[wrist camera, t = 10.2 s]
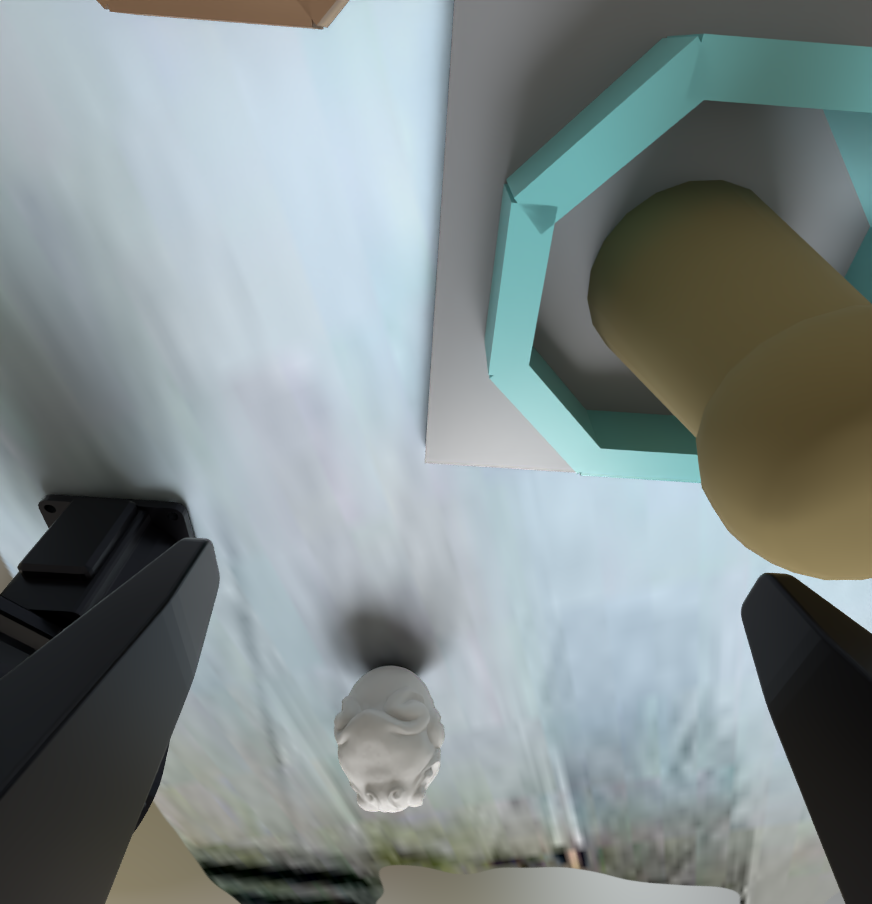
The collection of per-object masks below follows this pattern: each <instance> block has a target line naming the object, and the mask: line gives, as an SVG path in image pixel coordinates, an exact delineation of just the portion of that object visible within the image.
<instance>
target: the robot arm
mask: <svg viewBox="0 0 872 904" xmlns="http://www.w3.org/2000/svg"><path fill="white" fill-rule="evenodd" d="M38 506H39V509H40V511H41V513H42V516H43V518H44V520H45V522H46V524H47V526H48V528H49V529H48V530H47V531H46V533H45V534H44V535H43V536H42V537H41V538H40V540H39V541H38V542H37V543H36V544H35V546H34V547H33V548H32V549H31V550H30V551H29V553H28V554H27V555H26V556H25V557H24V559H23V560H22V561H21V562H20V563H19V565H18V567H17V568H18V570H19V572H18V573H17V575H16V576H15V577H14V578H13V579H12V581H11V582H10V583H9V584H8V585H7V587H6V588H5V589H4V590H3V592H2V593H1V594H0V904H105V902H106V900H107V897H108V895H109V892H110V890H111V887H112V885H113V882H114V879H115V877H116V875H117V872H118V869H119V867H120V864H121V862H122V859H123V857H124V854H125V852H126V849H127V846H128V844H129V842H130V839H131V837H132V834H133V833H134V831H135V830H136V829H137V827H138V826H139V824H140V823H141V821H142V819H143V818H144V816H145V814H146V813H147V811H148V809H149V807H150V805H151V803H152V801H153V799H154V797H155V795H156V792H157V790H158V787H159V785H160V781H161V778H162V774H163V770H164V766H165V761H166V756H167V752H168V747H169V742H170V738H171V735H172V733H173V730H174V728H175V725H176V723H177V720H178V718H179V715H180V713H181V710H182V708H183V705H184V702H185V700H186V697H187V695H188V692H189V690H190V687H191V684H192V681H193V679H194V676H195V672H196V669H197V665H198V662H199V658H200V654H201V651H202V647H203V643H204V640H205V636H206V632H207V629H208V625H209V621H210V617H211V614H212V610H213V606H214V603H215V599H216V595H217V592H218V587H219V580H220V577H219V570H218V565H217V561H216V556H215V551H214V547H213V544H212V542H211V541H210V540H209V539H204V538H195V537H194V534H193V530H192V527H191V523H190V519H189V516H188V512H187V510H186V508H185V507H184V506H183V505H181V504H179V503H175V502H163V501H146V500H130V499H114V498H98V497H81V496H65V495H47V496H45V497H44V498H43V499H42V500H41V501H40V502H39V504H38ZM172 512H173V513H172ZM174 513H176V514H174ZM741 617H742V621H743V625H744V628H745V632H746V635H747V639H748V642H749V646H750V649H751V653H752V656H753V660H754V663H755V667H756V671H757V674H758V678H759V681H760V685H761V688H762V692H763V695H764V698H765V701H766V704H767V707H768V710H769V712H770V715H771V718H772V721H773V723H774V726H775V728H776V731H777V733H778V736H779V738H780V741H781V743H782V746H783V748H784V751H785V753H786V756H787V758H788V761H789V763H790V766H791V768H792V771H793V773H794V776H795V778H796V781H797V783H798V786H799V788H800V791H801V794H802V796H803V799H804V801H805V804H806V806H807V809H808V811H809V814H810V816H811V819H812V821H813V824H814V826H815V829H816V831H817V834H818V836H819V839H820V841H821V844H822V846H823V849H824V851H825V854H826V856H827V859H828V861H829V864H830V866H831V869H832V871H833V874H834V876H835V879H836V881H837V884H838V886H839V889H840V891H841V894H842V896H843V899H844V901H845V904H872V634H871V633H870V632H869V631H867V630H866V629H865V628H863V627H862V626H860V625H859V624H858V623H856V622H855V621H854V620H852V619H851V618H850V617H848V616H847V615H845V614H844V613H843V612H841V611H840V610H839V609H837V608H836V607H834V606H833V605H832V604H830V603H829V602H828V601H826V600H825V599H824V598H822V597H821V596H819V595H818V594H817V593H815V592H814V591H813V590H811V589H810V588H808V587H807V586H806V585H804V584H803V583H802V582H800V581H799V580H798V579H796V578H795V577H793V576H791V575H788V574H780V573H764V574H762V575H761V576H760V577H759V578H758V579H757V581H756V583H755V584H754V586H753V587H752V589H751V591H750V592H749V594H748V596H747V597H746V599H745V601H744V602H743V604H742V608H741Z"/></svg>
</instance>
